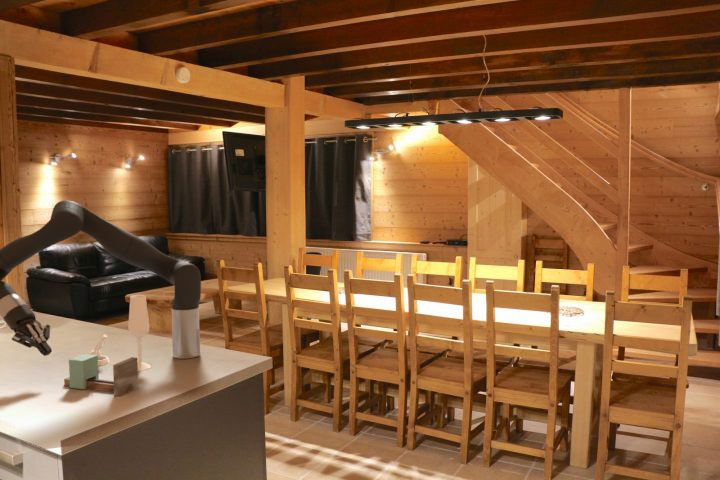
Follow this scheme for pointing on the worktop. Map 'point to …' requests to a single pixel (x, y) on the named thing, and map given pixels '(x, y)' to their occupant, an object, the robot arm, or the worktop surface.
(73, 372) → the block
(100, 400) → the worktop surface
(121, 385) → the rail
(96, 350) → the white vr controller
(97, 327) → the worktop surface
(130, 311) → the champagne flute
